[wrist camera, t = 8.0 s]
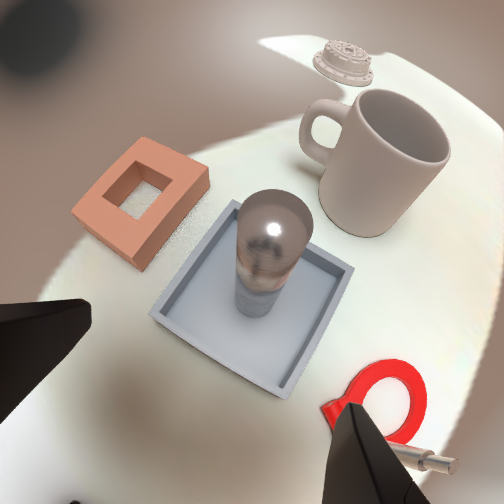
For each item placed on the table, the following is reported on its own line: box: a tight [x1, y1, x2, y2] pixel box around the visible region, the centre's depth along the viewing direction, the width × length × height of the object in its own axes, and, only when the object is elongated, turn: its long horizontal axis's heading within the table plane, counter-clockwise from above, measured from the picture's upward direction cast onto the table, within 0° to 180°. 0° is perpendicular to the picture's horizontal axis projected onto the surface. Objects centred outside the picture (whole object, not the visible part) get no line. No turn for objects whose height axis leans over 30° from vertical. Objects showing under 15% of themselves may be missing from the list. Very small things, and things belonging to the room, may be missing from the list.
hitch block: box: [71, 136, 210, 272], centre depth 24 cm, size 10×8×3 cm
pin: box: [235, 189, 313, 318], centre depth 17 cm, size 3×3×12 cm
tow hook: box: [322, 359, 459, 474], centre depth 14 cm, size 8×13×9 cm
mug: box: [299, 89, 451, 237], centre depth 23 cm, size 12×8×11 cm
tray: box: [148, 199, 355, 400], centre depth 22 cm, size 11×11×2 cm
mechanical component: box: [313, 40, 374, 86], centre depth 37 cm, size 10×4×10 cm
